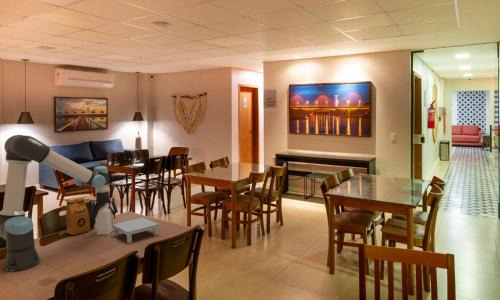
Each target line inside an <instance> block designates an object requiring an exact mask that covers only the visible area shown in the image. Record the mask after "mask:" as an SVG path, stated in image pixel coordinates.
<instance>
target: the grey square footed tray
mask: <svg viewBox="0 0 500 300" xmlns="http://www.w3.org/2000/svg"><path fill="white" fill-rule="evenodd" d="M159 227H160V225H159V223H157V222H154V221H151V220H149V219H147V218H145V217H139V218H134V219H132V220H126V221H122V222H118V223H114V224H113V225H112V228H113V237H119V233H122V234H124V235H126V243H127V244H131V243H133V239H132V236H133V235H134V234H138V233H143V232H146V231H150V230H152V235H153V236H154V237H156V235H157V236H159V229H158V228H159Z"/></svg>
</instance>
